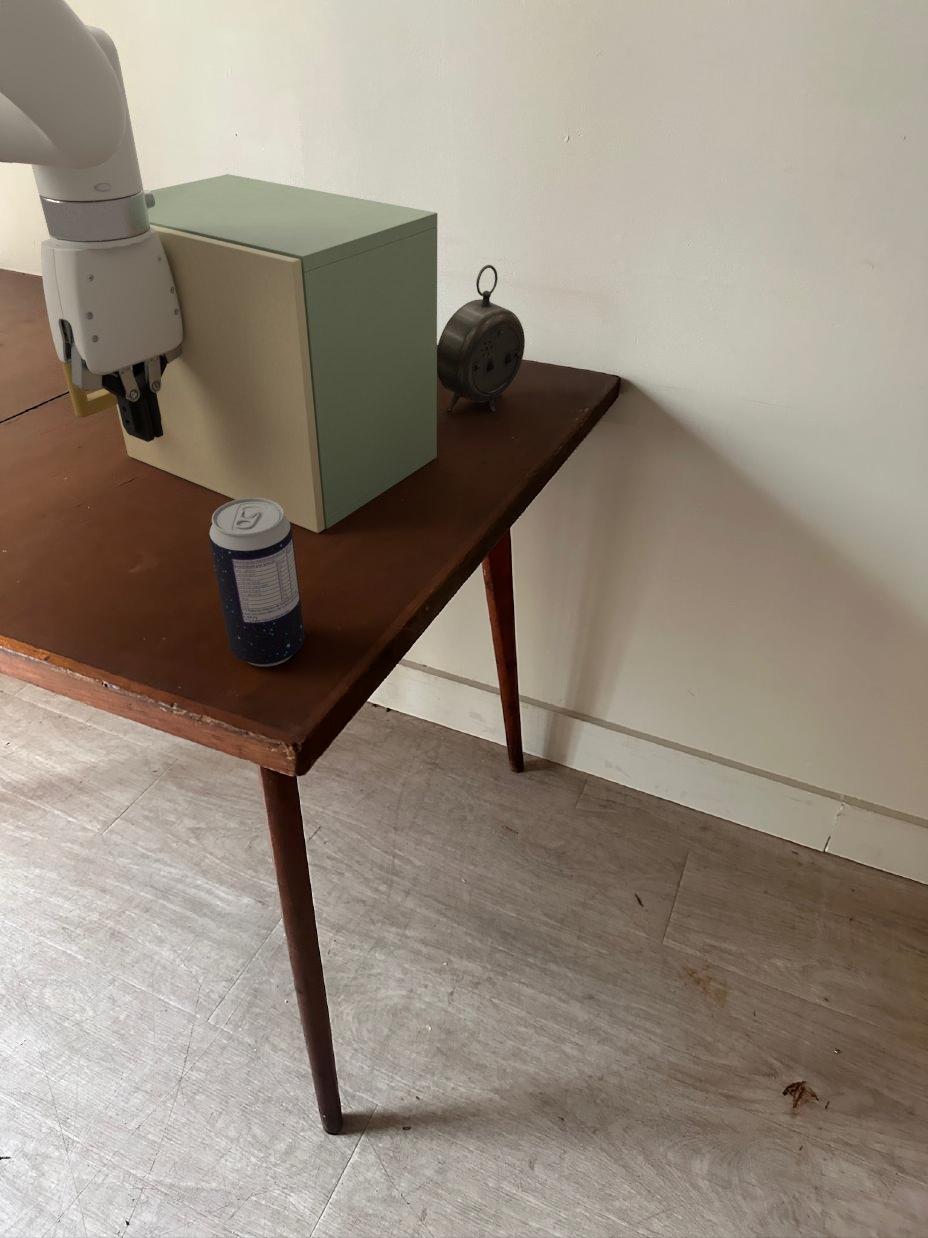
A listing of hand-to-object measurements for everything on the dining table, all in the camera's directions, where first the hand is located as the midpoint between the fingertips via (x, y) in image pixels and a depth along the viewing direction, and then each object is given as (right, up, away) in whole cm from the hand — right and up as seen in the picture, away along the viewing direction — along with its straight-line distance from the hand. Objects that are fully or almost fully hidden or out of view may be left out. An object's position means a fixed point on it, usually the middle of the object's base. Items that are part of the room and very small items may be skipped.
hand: (145, 434), depth 78 cm
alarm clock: (+31, +9, +26) cm, 41 cm away
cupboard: (+10, +1, +14) cm, 17 cm away
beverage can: (+14, -19, -11) cm, 26 cm away
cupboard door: (+3, -5, +6) cm, 8 cm away
